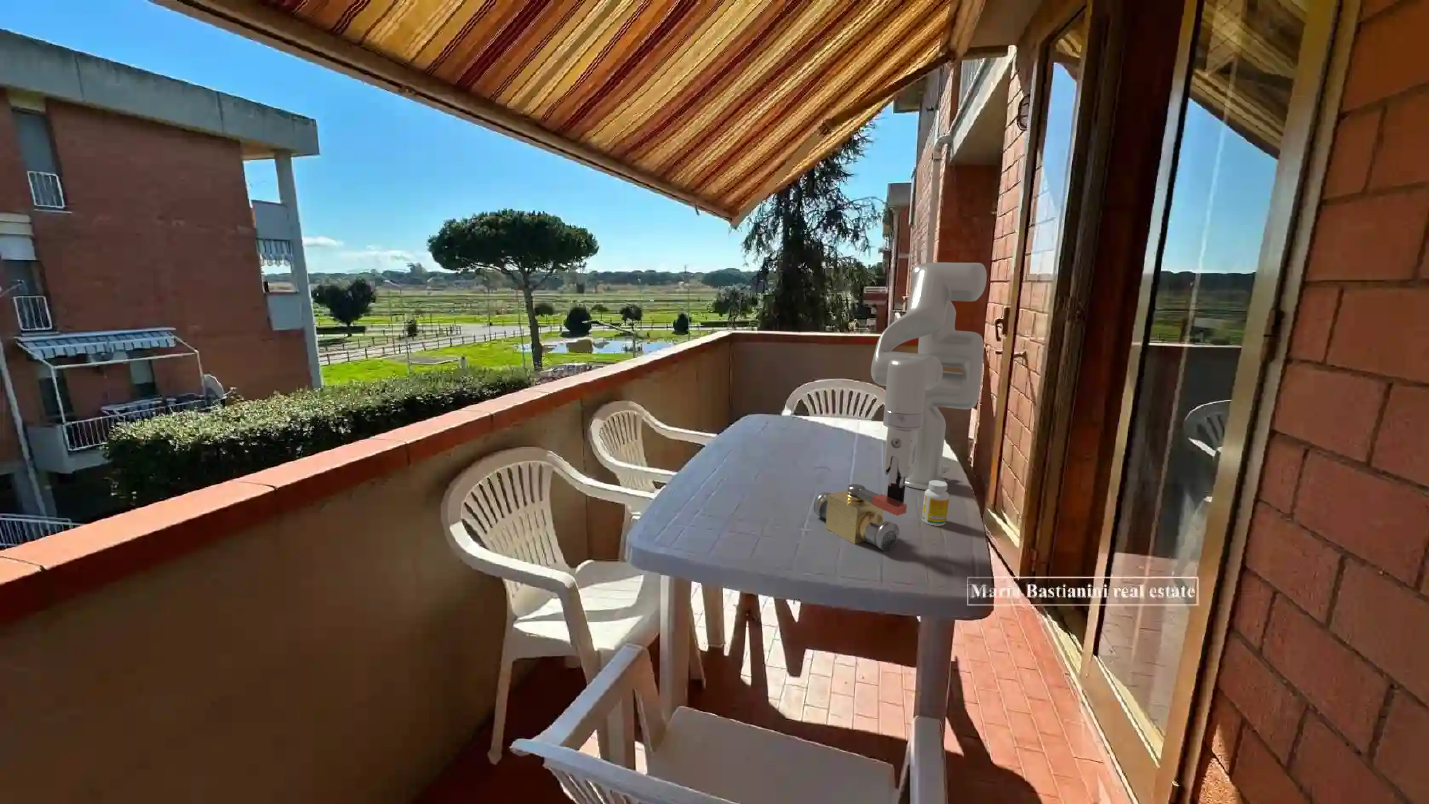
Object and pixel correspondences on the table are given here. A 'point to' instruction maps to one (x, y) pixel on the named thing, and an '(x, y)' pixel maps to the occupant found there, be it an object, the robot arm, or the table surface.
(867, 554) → the table surface
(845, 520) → the valve
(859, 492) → the lever
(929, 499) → the supplement bottle
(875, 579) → the table surface
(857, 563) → the table surface
